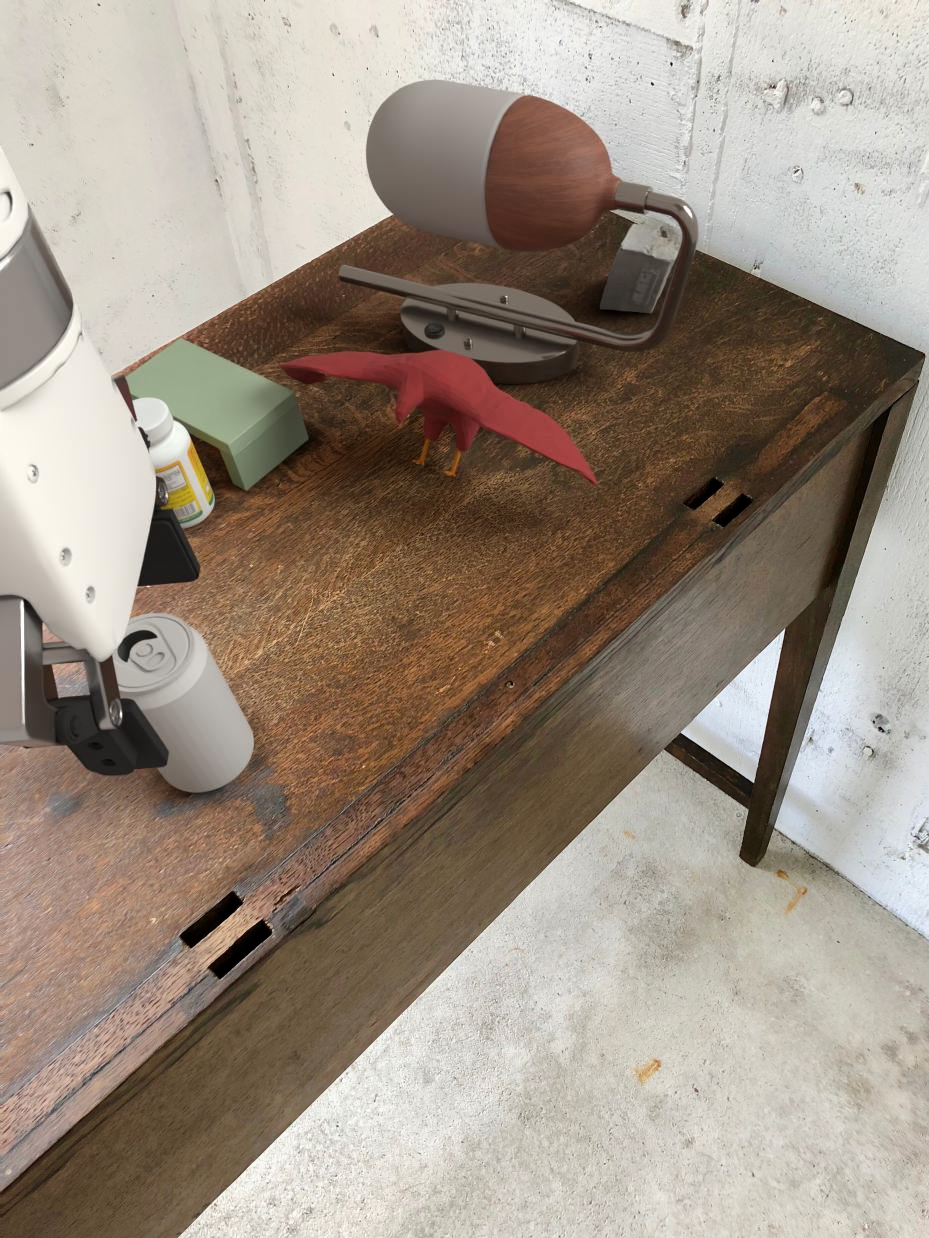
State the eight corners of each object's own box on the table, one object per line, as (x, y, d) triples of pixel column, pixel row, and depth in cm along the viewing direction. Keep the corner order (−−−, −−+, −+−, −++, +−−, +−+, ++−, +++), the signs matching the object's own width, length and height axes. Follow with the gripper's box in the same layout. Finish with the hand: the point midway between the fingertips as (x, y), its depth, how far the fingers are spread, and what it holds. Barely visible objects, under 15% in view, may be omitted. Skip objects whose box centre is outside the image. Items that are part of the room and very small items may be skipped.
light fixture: (333, 35, 78) (735, 98, 68) (379, 276, 96) (704, 356, 85) (256, 93, 73) (679, 172, 62) (320, 337, 91) (658, 431, 80)
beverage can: (215, 700, 67) (152, 589, 57) (277, 748, 64) (222, 640, 54) (143, 763, 64) (64, 658, 54) (205, 816, 62) (133, 715, 52)
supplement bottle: (189, 539, 76) (144, 447, 68) (138, 520, 78) (88, 427, 70) (230, 495, 79) (191, 401, 71) (179, 477, 80) (136, 384, 73)
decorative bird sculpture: (340, 434, 89) (235, 403, 75) (369, 335, 87) (267, 285, 73) (612, 534, 79) (550, 519, 65) (652, 426, 77) (597, 387, 64)
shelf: (136, 431, 84) (113, 384, 80) (199, 384, 88) (180, 337, 84) (246, 491, 79) (227, 444, 75) (309, 439, 82) (294, 391, 78)
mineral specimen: (590, 325, 88) (592, 233, 82) (611, 291, 94) (614, 203, 88) (670, 332, 86) (677, 239, 81) (686, 296, 92) (694, 207, 87)
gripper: (-109, 165, 32) (101, 526, 46) (-348, 545, 22) (15, 859, 36) (114, 143, 32) (256, 512, 46) (-24, 516, 22) (213, 843, 36)
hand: (150, 664), depth 41 cm, fingers open, 9 cm apart
